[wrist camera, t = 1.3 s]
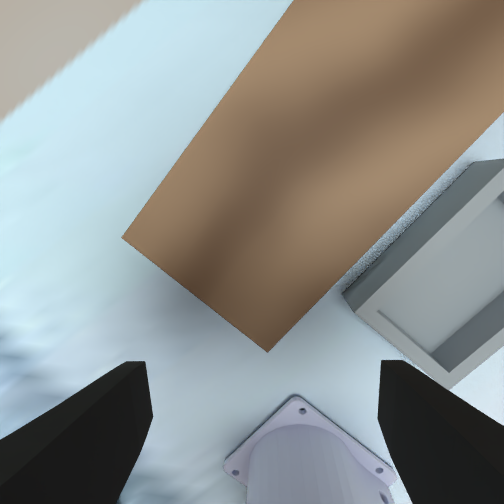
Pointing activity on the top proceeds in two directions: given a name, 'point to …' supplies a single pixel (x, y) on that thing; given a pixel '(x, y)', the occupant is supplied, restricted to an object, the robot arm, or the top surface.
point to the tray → (443, 280)
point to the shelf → (322, 151)
